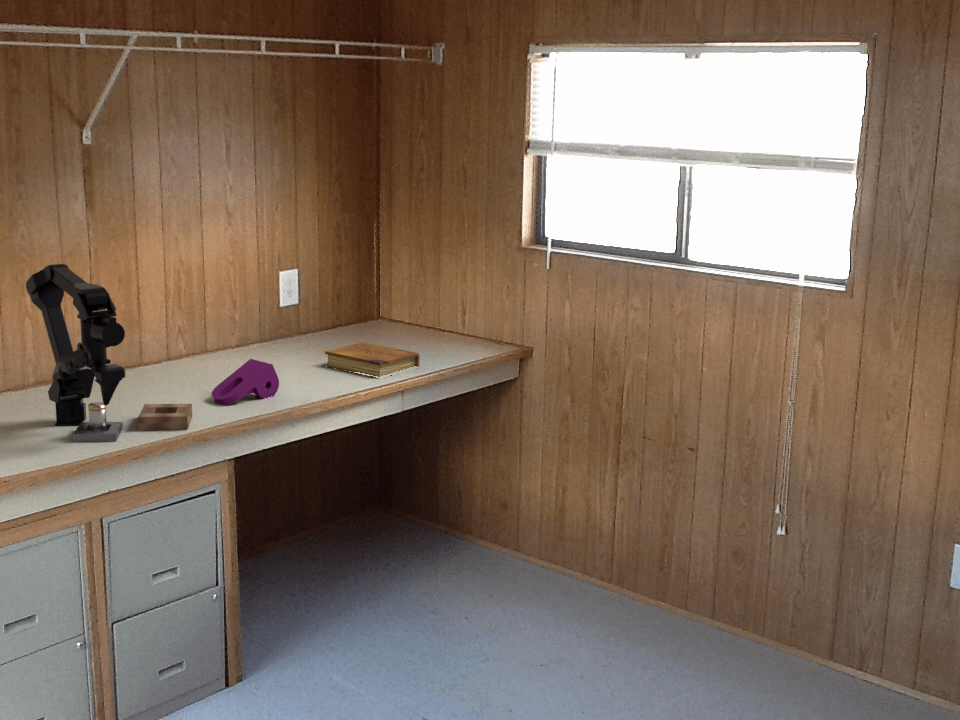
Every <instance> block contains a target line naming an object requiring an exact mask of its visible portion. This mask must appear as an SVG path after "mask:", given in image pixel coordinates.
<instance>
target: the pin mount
mask: <svg viewBox="0 0 960 720" xmlns="http://www.w3.org/2000/svg"><path fill="white" fill-rule="evenodd" d="M106 422H107V431H90V425H89V421H87V422H81V423H80V425H77V427H76V429H75V430H74V432H73V434H72V438H73V439H72V441H73V443H80V442H81V443H88V442H89V443H90V442H91V441H92V442H93V443H95V442H97V443H98V442H117V440H118V439H119V437H120V436H121V434H120V433H122V432H121V431H124V428H123V425H124V424H123V423H124V422H123V421H106ZM85 441H87V442H85ZM92 442H91V443H92Z"/></svg>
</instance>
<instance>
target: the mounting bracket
mask: <svg viewBox="0 0 960 720" xmlns="http://www.w3.org/2000/svg"><path fill="white" fill-rule="evenodd" d="M279 388H280V380H279V377H278V374H277V372H276V369H275V367H274V364H272V363H270V362H269V363H268V362H265V361H261V360H257V359H252V358H249V360H247V361H246V362H244V363H243V364H242V365H240V367H238V368H237V369H235V371H234V372H232V373H231V374H229V376H227V377H226V378H225V379H223V380H222V381H221V382H220V383H219V384H217V385H216V386H215V387H214V388H213V389H212V391H211V397H212V399H213V401H214V403H216V404H217V405H220V406H229V405H231V404H234V403H237V402H238V401H239V400H241V399H242V398H243V397H245V396H246V395H251V394H254V395H255V396H256V397H257V398H260V399H264V398H266V399H269V398H268V397H270V398H272V397H271V396H273V397H274V396H275V395H276V394H277V393H278V390H279Z"/></svg>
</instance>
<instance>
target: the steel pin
mask: <svg viewBox="0 0 960 720" xmlns="http://www.w3.org/2000/svg"><path fill="white" fill-rule="evenodd" d="M88 419H89V420H88V422H89V425H90V431H107V422H108V421H107V405H104V404H103V401H102V402H99V401H98V402H96V401H95V402H91V403H89V404H88Z"/></svg>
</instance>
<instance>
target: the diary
mask: <svg viewBox="0 0 960 720" xmlns="http://www.w3.org/2000/svg"><path fill="white" fill-rule="evenodd" d="M324 355H327V364H325V365H324V367H325V366H327V367H331V368H330V369H332V368H336V369H341V370H346V371H351V372H360V373H365V374H369V375H373V376H378V377H380V376H383V375H387V374H390V373H393V372H396V371H400V370H403V369H407V368H410V367H414V366H417V367H418V366H419V367H420V359H421V358H420V354H419V353H418V352H414V351H409V350H404V349H399V348H395V347H389V346H385V345H380V344H379V345H378V344H373V343H369V342H358V343H354V344H350V345H349V344H348V345H346V346H342V347H338V348H333V349H329V350H328V349H327V350H325V351H324ZM327 367H326V368H327ZM336 369H335V370H336ZM341 370H340V371H341Z"/></svg>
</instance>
